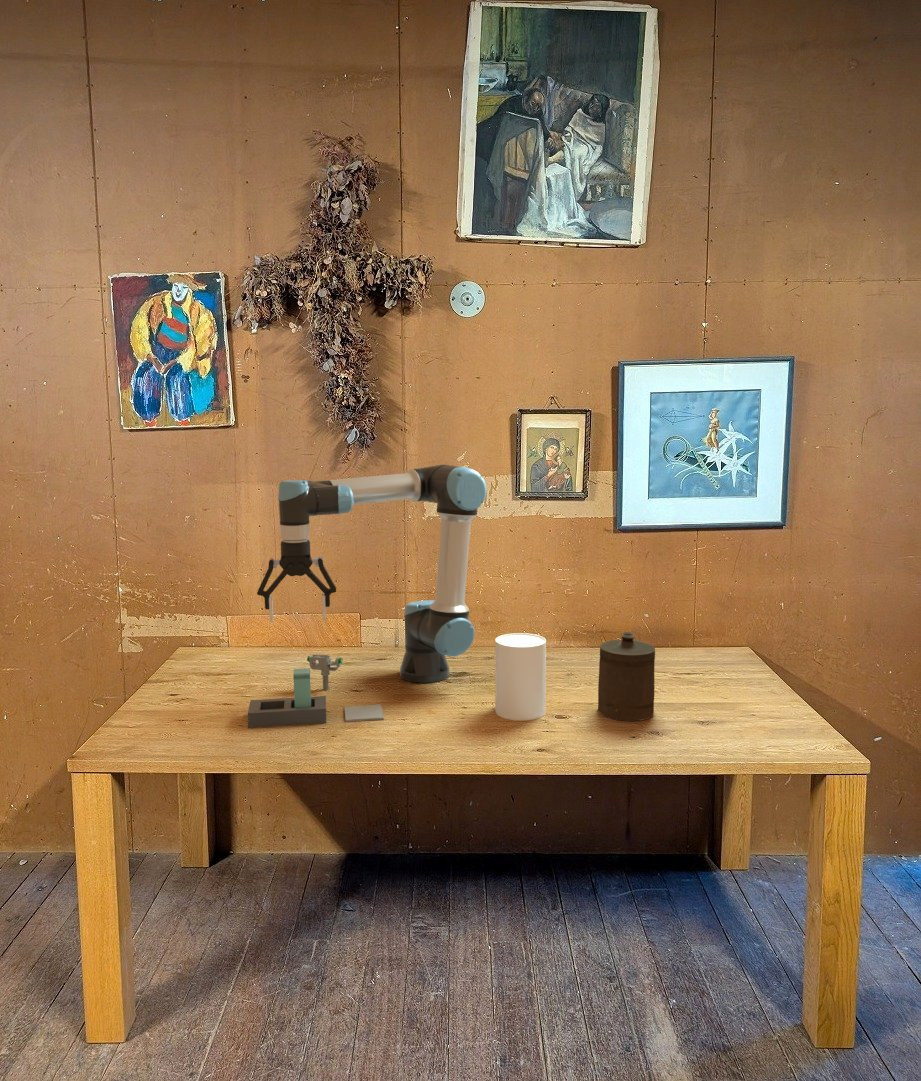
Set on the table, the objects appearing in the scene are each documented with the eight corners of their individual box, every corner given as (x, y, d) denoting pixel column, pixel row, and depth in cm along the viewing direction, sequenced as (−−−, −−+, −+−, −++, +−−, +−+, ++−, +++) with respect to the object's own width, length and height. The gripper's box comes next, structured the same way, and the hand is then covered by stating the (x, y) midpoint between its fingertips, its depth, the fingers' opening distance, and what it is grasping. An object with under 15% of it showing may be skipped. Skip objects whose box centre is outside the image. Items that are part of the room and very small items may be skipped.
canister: (555, 711, 239) (556, 639, 236) (522, 724, 230) (522, 650, 226) (518, 699, 248) (518, 630, 245) (485, 711, 239) (484, 640, 236)
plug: (311, 714, 238) (309, 668, 235) (311, 720, 233) (309, 673, 231) (295, 715, 237) (293, 669, 235) (295, 721, 233) (293, 673, 231)
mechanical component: (340, 692, 255) (339, 658, 253) (307, 690, 257) (306, 656, 255) (344, 688, 258) (343, 655, 256) (311, 686, 260) (309, 653, 258)
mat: (381, 706, 243) (381, 704, 243) (383, 719, 233) (383, 717, 233) (344, 708, 242) (344, 706, 242) (345, 722, 232) (345, 719, 232)
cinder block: (326, 709, 241) (325, 695, 240) (326, 723, 231) (325, 708, 231) (251, 714, 238) (250, 700, 237) (248, 728, 228) (247, 713, 228)
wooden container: (640, 700, 247) (642, 624, 243) (663, 719, 233) (665, 638, 229) (589, 704, 244) (591, 627, 240) (610, 724, 230) (612, 642, 226)
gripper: (343, 536, 233) (345, 614, 237) (247, 539, 230) (250, 618, 233) (344, 541, 226) (346, 621, 229) (244, 544, 222) (248, 625, 226)
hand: (298, 620), depth 231 cm, fingers open, 13 cm apart
